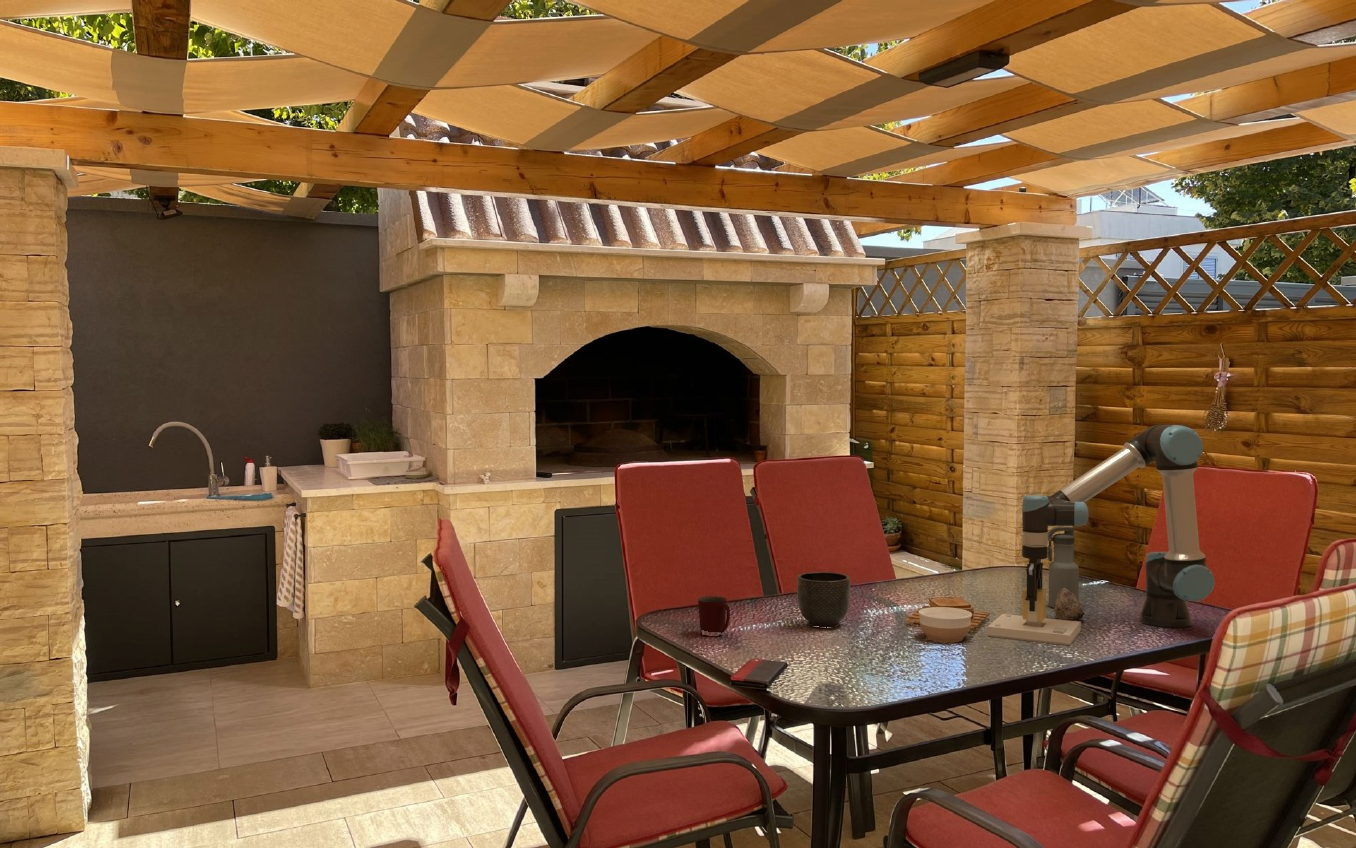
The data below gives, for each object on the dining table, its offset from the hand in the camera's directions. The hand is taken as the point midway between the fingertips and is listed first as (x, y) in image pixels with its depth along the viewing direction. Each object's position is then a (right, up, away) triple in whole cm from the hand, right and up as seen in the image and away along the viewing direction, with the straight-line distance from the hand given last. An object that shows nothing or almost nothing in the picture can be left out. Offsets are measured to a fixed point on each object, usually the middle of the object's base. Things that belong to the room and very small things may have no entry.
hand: (1034, 619), depth 318 cm
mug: (-99, -6, +3) cm, 99 cm away
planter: (-64, -5, +14) cm, 65 cm away
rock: (+17, -4, +19) cm, 26 cm away
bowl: (-29, -5, -4) cm, 30 cm away
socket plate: (0, -4, 0) cm, 4 cm away
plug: (0, -3, 0) cm, 3 cm away
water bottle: (+23, -3, +38) cm, 44 cm away
